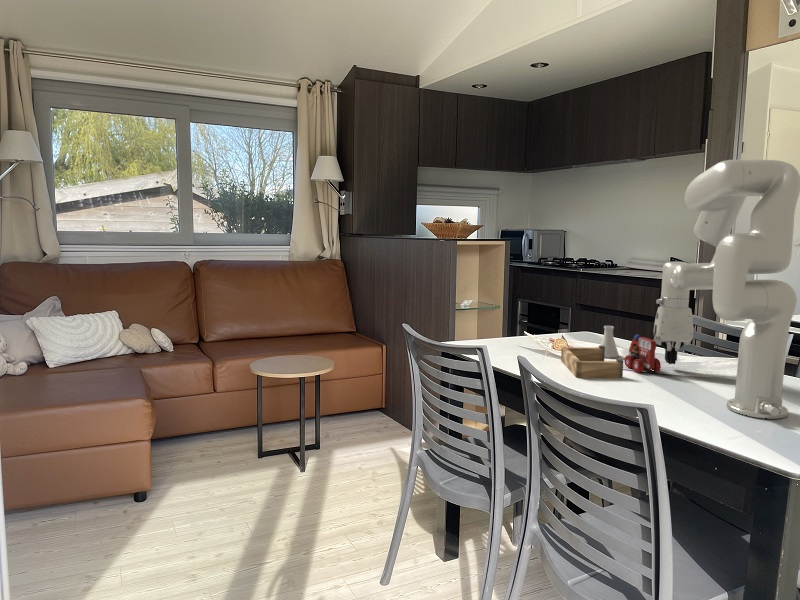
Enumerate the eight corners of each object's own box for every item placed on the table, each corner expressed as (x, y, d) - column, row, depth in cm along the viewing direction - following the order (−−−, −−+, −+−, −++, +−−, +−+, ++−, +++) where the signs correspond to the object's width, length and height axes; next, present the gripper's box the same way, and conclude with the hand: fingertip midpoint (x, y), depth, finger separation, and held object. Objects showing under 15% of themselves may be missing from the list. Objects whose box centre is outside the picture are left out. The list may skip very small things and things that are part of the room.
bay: (622, 377, 168) (623, 360, 168) (576, 377, 169) (576, 359, 168) (602, 361, 187) (603, 345, 186) (561, 360, 188) (561, 345, 187)
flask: (596, 357, 192) (597, 327, 190) (595, 352, 199) (597, 324, 197) (619, 359, 190) (621, 329, 188) (618, 354, 197) (619, 325, 195)
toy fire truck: (641, 364, 184) (643, 331, 182) (663, 374, 172) (665, 340, 170) (620, 364, 183) (622, 332, 181) (641, 375, 171) (643, 340, 169)
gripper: (653, 305, 171) (650, 366, 173) (706, 305, 170) (701, 366, 173) (644, 301, 178) (640, 359, 181) (694, 301, 177) (690, 360, 180)
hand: (670, 362), depth 177 cm, fingers closed
